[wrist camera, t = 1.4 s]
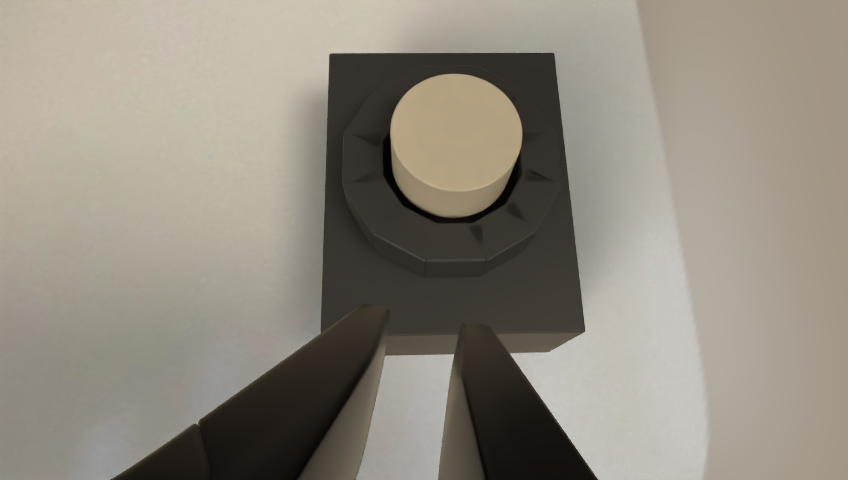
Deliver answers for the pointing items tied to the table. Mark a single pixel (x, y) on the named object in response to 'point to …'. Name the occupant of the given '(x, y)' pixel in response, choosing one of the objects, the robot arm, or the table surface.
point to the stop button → (454, 144)
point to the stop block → (448, 237)
